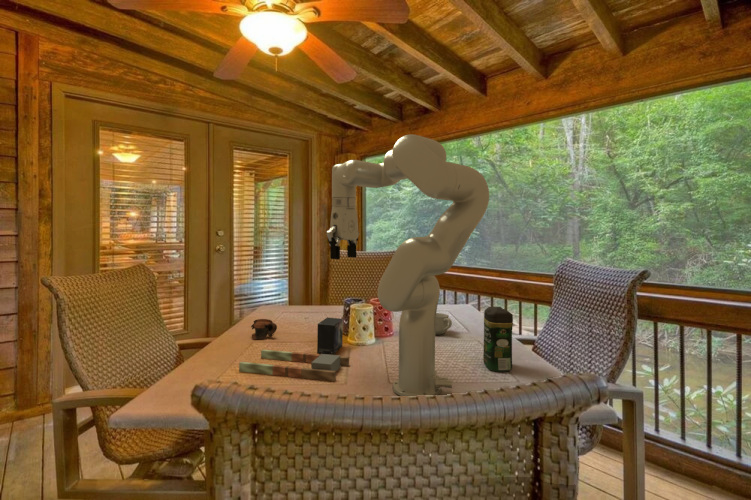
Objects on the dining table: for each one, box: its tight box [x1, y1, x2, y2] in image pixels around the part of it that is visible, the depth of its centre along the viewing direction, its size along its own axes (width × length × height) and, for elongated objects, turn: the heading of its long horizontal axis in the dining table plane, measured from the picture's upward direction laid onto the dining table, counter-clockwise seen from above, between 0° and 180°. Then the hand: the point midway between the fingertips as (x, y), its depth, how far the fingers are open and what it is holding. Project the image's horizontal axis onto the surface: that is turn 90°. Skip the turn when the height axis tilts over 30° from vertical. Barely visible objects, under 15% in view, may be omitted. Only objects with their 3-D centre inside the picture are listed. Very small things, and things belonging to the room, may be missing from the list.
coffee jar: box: [482, 306, 514, 373], centre depth 116 cm, size 10×8×19 cm
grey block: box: [310, 354, 341, 372], centre depth 113 cm, size 6×8×4 cm
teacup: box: [435, 312, 453, 336], centre depth 155 cm, size 14×11×8 cm
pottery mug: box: [250, 318, 278, 341], centre depth 149 cm, size 12×10×8 cm
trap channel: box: [238, 349, 350, 382], centre depth 115 cm, size 30×13×2 cm, turn 76°
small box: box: [316, 317, 344, 355], centre depth 133 cm, size 11×6×10 cm, turn 168°
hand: (343, 258), depth 120 cm, fingers open, 9 cm apart
